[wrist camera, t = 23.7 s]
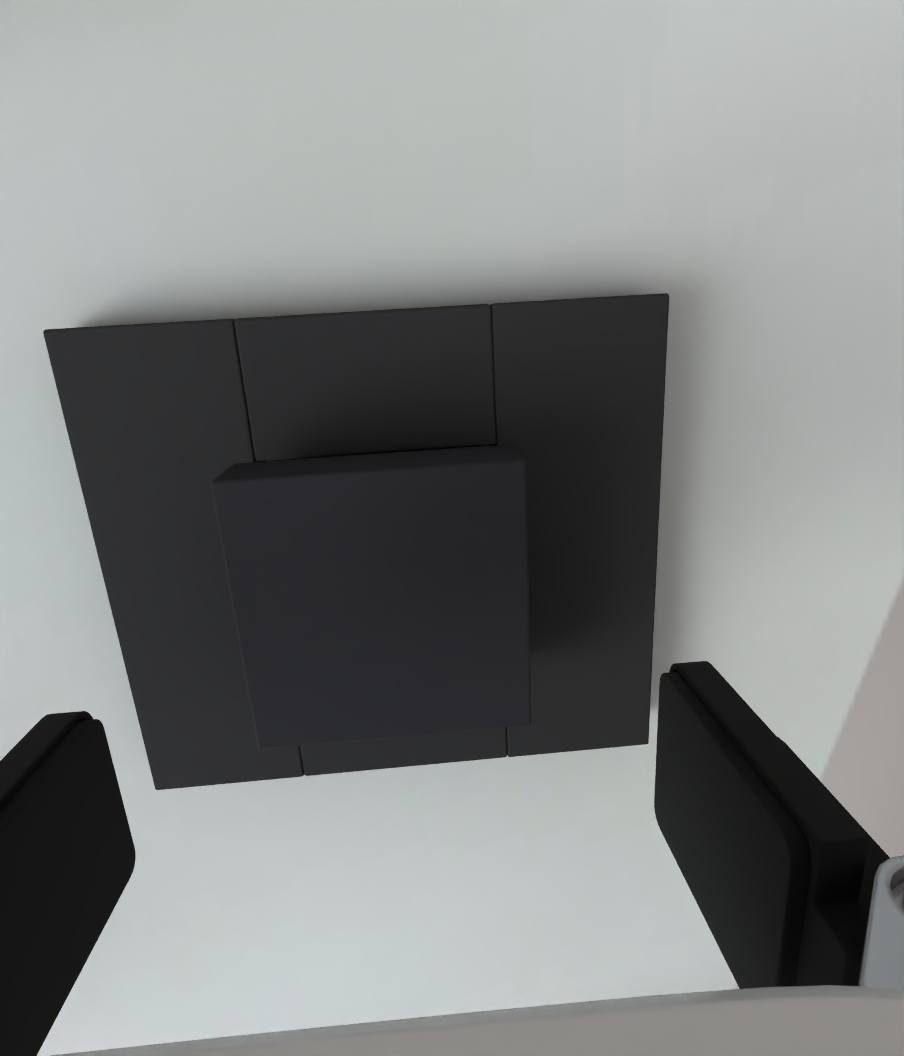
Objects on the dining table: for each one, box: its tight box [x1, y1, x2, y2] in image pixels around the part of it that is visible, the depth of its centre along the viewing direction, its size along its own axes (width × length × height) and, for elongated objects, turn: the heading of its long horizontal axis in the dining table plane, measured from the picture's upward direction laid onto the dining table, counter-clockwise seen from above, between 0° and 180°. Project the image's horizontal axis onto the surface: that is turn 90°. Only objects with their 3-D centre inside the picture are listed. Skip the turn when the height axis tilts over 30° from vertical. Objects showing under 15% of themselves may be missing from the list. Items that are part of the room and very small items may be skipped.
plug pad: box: [211, 445, 531, 749], centre depth 18 cm, size 7×7×4 cm
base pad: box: [44, 293, 669, 790], centre depth 19 cm, size 16×14×2 cm
